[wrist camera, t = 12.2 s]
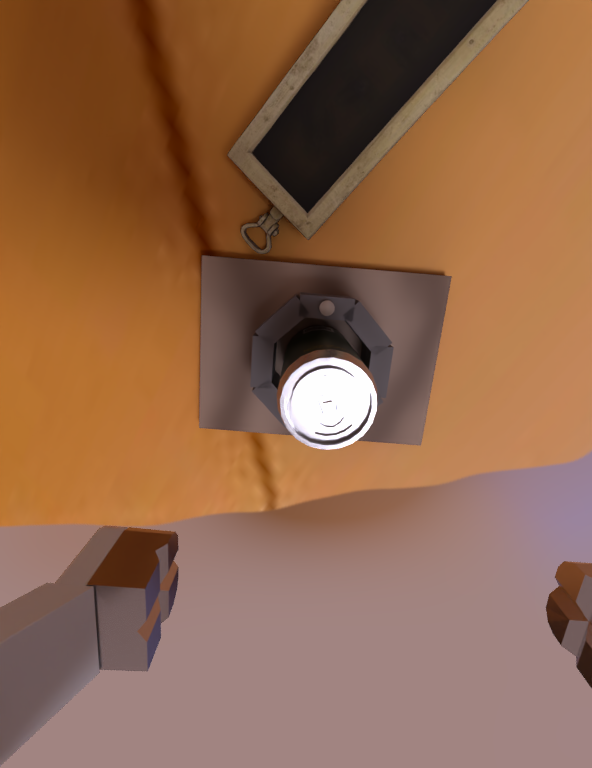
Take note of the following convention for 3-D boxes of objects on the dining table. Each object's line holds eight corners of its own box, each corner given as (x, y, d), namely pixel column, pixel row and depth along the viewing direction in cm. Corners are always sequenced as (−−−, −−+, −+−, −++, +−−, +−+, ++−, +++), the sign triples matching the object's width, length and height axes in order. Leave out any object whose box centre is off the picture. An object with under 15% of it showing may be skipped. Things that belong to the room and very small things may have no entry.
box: (523, 12, 25) (561, -38, 20) (290, 275, 33) (280, 283, 28) (436, -99, 23) (456, -179, 19) (217, 204, 32) (193, 200, 27)
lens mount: (202, 422, 34) (184, 450, 28) (205, 256, 30) (184, 251, 25) (416, 439, 34) (438, 470, 29) (445, 276, 30) (477, 276, 25)
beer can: (277, 332, 31) (263, 365, 19) (344, 317, 30) (371, 341, 19) (292, 395, 32) (288, 462, 20) (356, 382, 32) (389, 442, 20)
